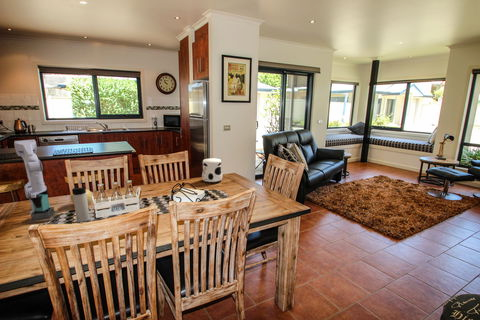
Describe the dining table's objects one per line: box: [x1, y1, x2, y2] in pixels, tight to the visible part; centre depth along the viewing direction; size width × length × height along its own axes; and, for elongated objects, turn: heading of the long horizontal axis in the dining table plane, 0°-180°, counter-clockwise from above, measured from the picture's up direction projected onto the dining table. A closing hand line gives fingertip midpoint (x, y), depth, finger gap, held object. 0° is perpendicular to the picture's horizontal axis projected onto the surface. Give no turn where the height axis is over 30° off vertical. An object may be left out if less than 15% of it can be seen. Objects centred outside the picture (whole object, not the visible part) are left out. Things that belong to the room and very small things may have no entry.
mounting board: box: [26, 210, 59, 225], centre depth 147 cm, size 13×11×1 cm
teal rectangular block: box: [33, 195, 51, 211], centre depth 145 cm, size 5×5×8 cm
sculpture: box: [70, 188, 94, 205], centre depth 165 cm, size 12×12×11 cm
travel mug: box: [71, 186, 91, 224], centre depth 141 cm, size 6×7×20 cm
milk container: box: [201, 157, 224, 184], centre depth 214 cm, size 17×17×18 cm
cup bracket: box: [28, 206, 57, 221], centre depth 146 cm, size 10×10×3 cm
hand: (41, 205), depth 145 cm, fingers closed on teal rectangular block, 6 cm apart
